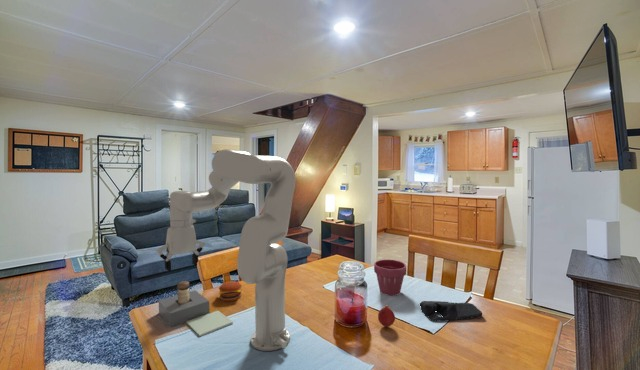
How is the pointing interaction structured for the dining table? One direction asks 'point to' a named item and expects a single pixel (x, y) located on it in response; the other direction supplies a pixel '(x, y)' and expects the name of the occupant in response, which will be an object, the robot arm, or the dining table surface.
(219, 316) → the coaster
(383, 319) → the onion
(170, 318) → the socket block
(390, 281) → the plant pot
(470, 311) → the black pouch
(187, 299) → the plug
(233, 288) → the hamburger
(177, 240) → the robot arm
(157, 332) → the dining table surface
